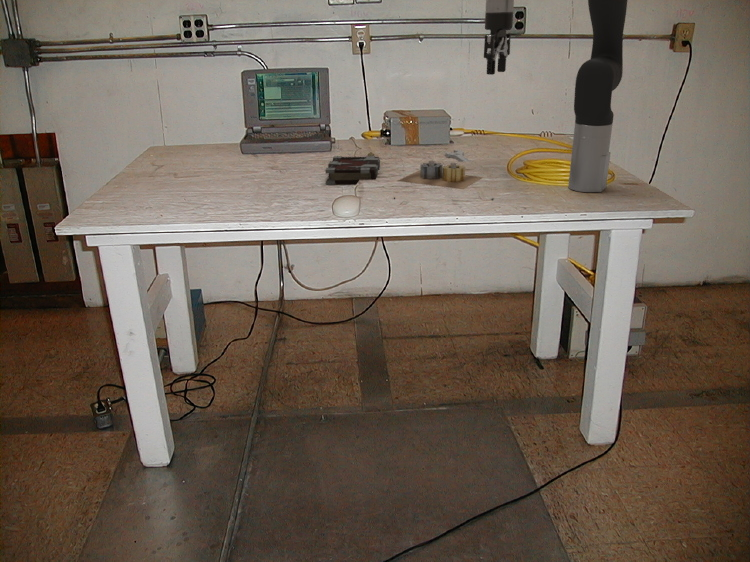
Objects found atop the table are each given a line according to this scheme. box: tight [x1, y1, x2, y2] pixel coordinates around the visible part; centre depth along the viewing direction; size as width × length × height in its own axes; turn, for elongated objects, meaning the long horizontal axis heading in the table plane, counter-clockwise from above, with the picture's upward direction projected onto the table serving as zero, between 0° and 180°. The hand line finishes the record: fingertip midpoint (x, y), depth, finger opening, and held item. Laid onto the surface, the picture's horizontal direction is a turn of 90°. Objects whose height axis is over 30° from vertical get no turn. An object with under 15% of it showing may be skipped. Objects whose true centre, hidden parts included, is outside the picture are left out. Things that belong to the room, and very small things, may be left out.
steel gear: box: [419, 162, 444, 180], centre depth 175 cm, size 6×6×4 cm
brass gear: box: [443, 164, 466, 182], centre depth 172 cm, size 6×6×4 cm
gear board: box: [397, 160, 484, 190], centre depth 173 cm, size 20×14×6 cm
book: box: [324, 151, 381, 186], centre depth 186 cm, size 15×25×5 cm, turn 176°
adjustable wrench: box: [445, 149, 473, 163], centre depth 199 cm, size 25×6×2 cm, turn 7°
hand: (496, 73), depth 176 cm, fingers open, 8 cm apart
